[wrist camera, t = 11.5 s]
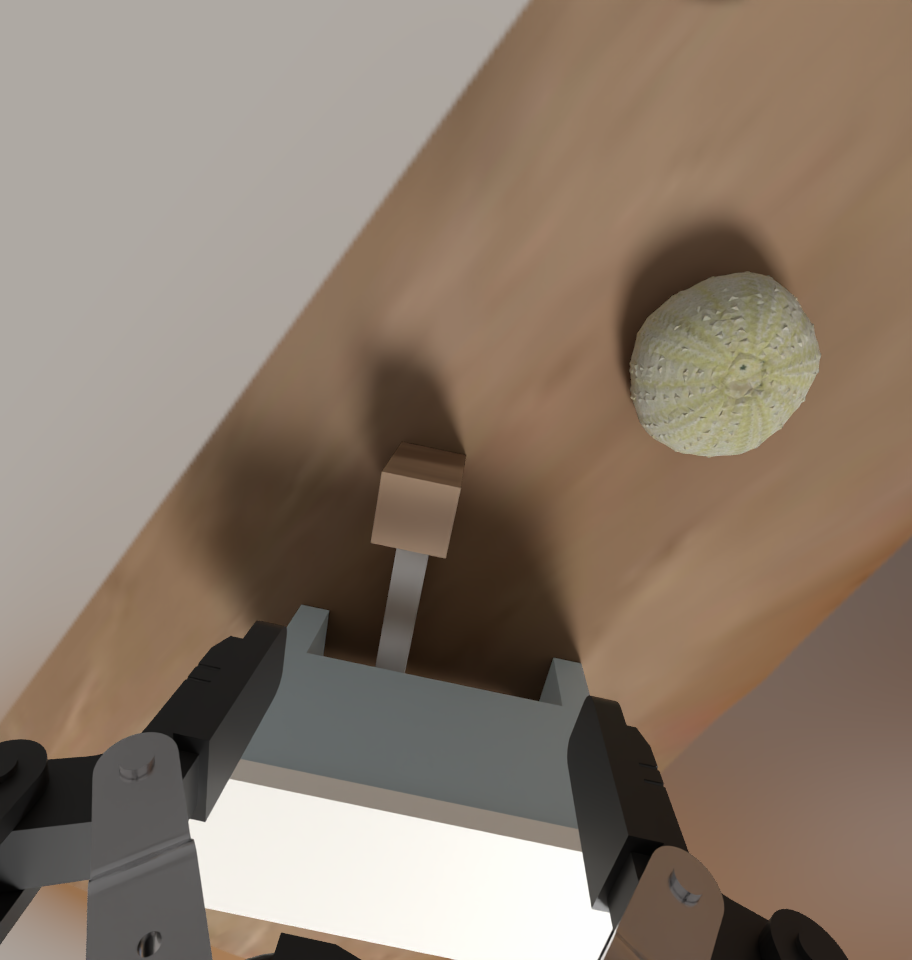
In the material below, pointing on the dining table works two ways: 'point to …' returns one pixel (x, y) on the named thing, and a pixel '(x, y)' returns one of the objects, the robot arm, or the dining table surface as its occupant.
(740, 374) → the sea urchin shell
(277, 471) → the dining table surface
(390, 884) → the bench
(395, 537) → the wooden cube mallet
